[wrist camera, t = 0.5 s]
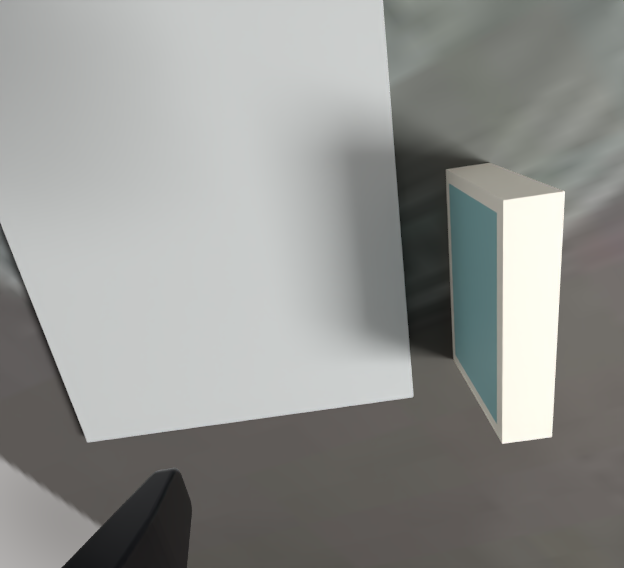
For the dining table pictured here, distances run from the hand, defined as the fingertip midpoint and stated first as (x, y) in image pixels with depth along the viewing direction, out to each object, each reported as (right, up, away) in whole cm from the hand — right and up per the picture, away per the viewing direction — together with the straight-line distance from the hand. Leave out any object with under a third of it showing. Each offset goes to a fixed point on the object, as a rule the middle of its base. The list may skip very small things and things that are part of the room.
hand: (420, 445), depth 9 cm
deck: (+5, +4, +13) cm, 14 cm away
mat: (-6, +6, +11) cm, 14 cm away
